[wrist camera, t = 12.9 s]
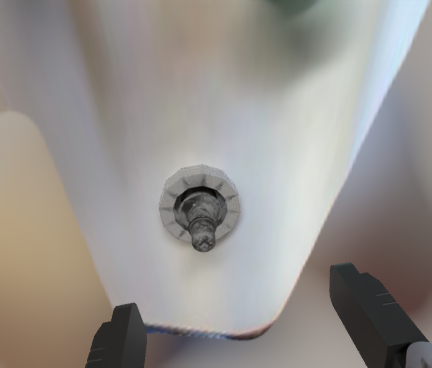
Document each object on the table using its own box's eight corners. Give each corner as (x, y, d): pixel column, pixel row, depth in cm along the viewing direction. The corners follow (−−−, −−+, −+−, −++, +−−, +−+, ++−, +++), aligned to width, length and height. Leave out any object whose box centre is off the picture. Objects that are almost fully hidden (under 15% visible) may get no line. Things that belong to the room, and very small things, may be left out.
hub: (153, 173, 42) (151, 182, 39) (230, 159, 42) (234, 167, 39) (172, 243, 47) (171, 255, 45) (240, 230, 48) (244, 242, 45)
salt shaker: (219, 215, 46) (230, 269, 35) (180, 217, 46) (180, 273, 35) (218, 180, 43) (231, 227, 33) (177, 183, 43) (176, 231, 32)
